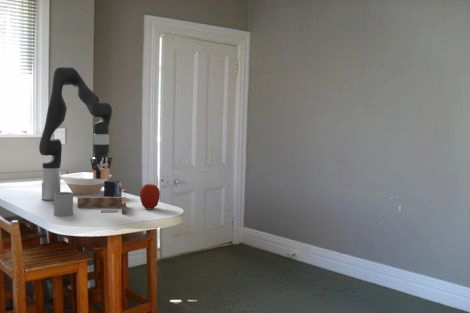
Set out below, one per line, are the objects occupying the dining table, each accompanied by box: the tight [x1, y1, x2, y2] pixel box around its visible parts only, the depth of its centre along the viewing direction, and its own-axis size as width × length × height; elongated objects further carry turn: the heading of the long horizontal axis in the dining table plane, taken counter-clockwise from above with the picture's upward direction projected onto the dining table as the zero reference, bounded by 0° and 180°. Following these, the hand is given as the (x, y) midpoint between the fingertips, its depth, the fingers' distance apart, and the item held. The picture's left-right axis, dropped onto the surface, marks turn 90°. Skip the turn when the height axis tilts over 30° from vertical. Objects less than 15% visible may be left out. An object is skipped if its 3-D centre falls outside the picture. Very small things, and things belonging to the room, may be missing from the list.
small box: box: [103, 178, 123, 197], centre depth 289 cm, size 11×6×10 cm, turn 168°
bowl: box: [60, 171, 112, 196], centre depth 305 cm, size 24×25×11 cm
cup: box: [53, 191, 74, 217], centre depth 241 cm, size 8×8×10 cm
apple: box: [139, 183, 161, 210], centre depth 261 cm, size 10×10×14 cm
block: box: [92, 167, 111, 180], centre depth 252 cm, size 4×7×5 cm, turn 65°
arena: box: [76, 196, 127, 215], centre depth 254 cm, size 24×20×5 cm
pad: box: [100, 209, 119, 213], centre depth 252 cm, size 8×5×1 cm, turn 102°
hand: (101, 178), depth 252 cm, fingers closed on block, 4 cm apart
